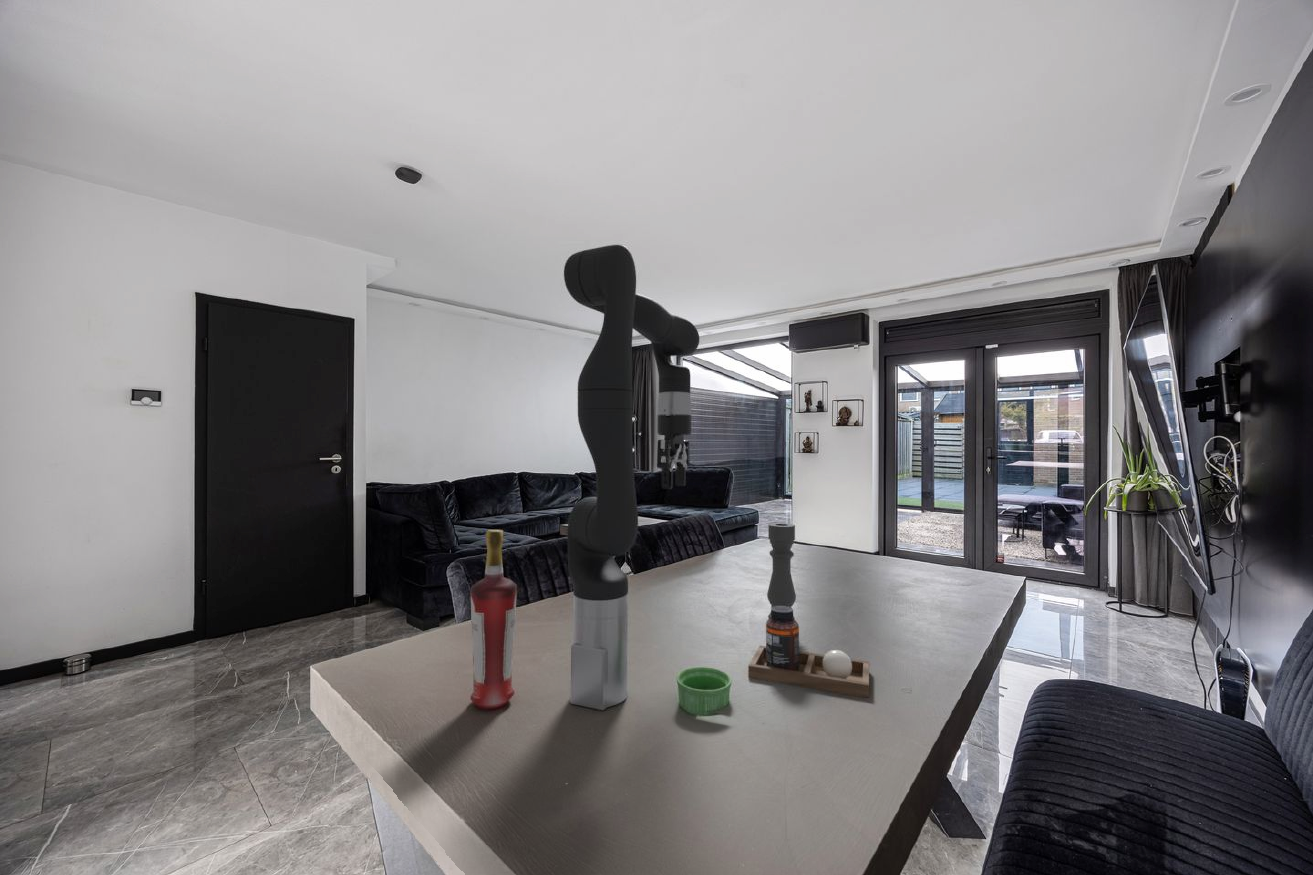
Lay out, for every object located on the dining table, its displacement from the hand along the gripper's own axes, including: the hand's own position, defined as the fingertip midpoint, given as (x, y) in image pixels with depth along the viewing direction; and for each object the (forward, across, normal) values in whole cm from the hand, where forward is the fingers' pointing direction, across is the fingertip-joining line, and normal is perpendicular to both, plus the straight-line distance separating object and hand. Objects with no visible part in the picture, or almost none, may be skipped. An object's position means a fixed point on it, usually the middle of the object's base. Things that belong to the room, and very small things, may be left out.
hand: (673, 487), depth 117 cm
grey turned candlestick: (+33, -9, +22) cm, 41 cm away
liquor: (+33, +39, -17) cm, 54 cm away
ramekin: (+34, +26, +15) cm, 45 cm away
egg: (+32, +10, +35) cm, 48 cm away
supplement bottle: (+32, +10, +25) cm, 42 cm away
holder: (+33, +10, +30) cm, 46 cm away
